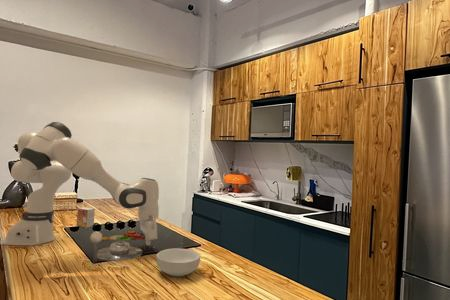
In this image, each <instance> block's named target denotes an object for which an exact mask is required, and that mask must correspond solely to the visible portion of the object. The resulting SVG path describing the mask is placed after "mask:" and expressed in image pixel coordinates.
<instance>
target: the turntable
mask: <svg viewBox="0 0 450 300" xmlns="http://www.w3.org/2000/svg"><path fill="white" fill-rule="evenodd" d="M143 249H144V250H142V249H141V248H139V247H135V246H132V245H130V249H129V253H128V254H126V255H112V254H110V246H107V247H103V248H99V249H97V259H98V260H99V259H100V260H103V261H110V262H111V261H112V262H115V261H116V262H119V261H127V260H128V261H129V260H132V259H136V258H138V257H140V256H142V255H143V253H144V252H143V251H150V250H151V244H150V245H146V239H144V248H143Z"/></svg>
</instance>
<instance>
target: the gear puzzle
mask: <svg viewBox="0 0 450 300" xmlns="http://www.w3.org/2000/svg"><path fill="white" fill-rule="evenodd" d="M158 239H160V237H158V235H157V239H156V240H158ZM129 240H131V241H132V240H135V241H137V240H145V234H144V233H143V232H142V231H141V230H139V231H135V230H129V231H127V232H124V233H123V235H122V234H121V235H120V234H119V235H115V234H114V235H112V236H109V237H107V236H104V237H103V236H102V241H101V242H108V241H129Z"/></svg>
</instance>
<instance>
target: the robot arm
mask: <svg viewBox="0 0 450 300" xmlns="http://www.w3.org/2000/svg"><path fill="white" fill-rule="evenodd" d="M17 149H18V153H19V160H18V161H16V162H15V163H13V165H12V167H11V171H10V174H11V177H12V179H13V180H14V181H16V182H20V183H25V184H29V183H30V184H42V186H41V188H38V189H36V190H33V191H32V192H30V193H29V194H28V197H27V204H26V210H25V211H23V213H22V214H21V216H20V217H21V218H22V219H21V220H19V221H17V222H16V223H15V224H13V225H12V226H11V227H9V228H8V230H7V232H6V236H5V237H3V238H2V239H0V245H3V246H32V247H33V246H37V245H41V244H46V243H49V242H52V241H54V240H56V236H55V232H54V231H55V230H54V220H55V212H54V202H55V196H56V194H57V191H58V189H59V188H61V186H62V185H63V184H65V183H66V182H67V181H69V180H70V178H71V175H72V174H73V175H75V176H77V177H79V178H81V179H83V180H86V181H87V180H88V181H92V182H94V183H96V184H97V185H99V186H100V187H101V188H103V189H104V190H106V192H108V193H109V194H110V195H111V197H112V199H113V201H114V202H115V203H116V204H117V205H118V206H120V207H121V208H124V209H128V210H131V209H136V208H137V209H138V211H137V215H138V216H137V217H138V219H139V229H140V231H142V232H143V233H144V234H145V239H146V245H150V244H151V242H152V241H153V240H158V239H157V236H158V223H157V221H156V219H159V209H160V207H159V200H160V199H159V193H160V192H159V190H160V189H159V183H158V181H157V180H155V179H153V178H148V177H141V178H140V179H139V180H138V181H135V182H134V183H132V184H129V183H125V182H122V181H121V182H120V181H119V180H117V179H116V178H115V177H113V176H112V175H111V174H110V173H108V172H107V170H105V169H104V167H103V165H102V161H101V160H100V159H99V158H98V157H97V156H96V155H95V154H94V153H93V152H92V151H91V150H90V149H88V148H87V147H86V146H84V145H83V144H81V143H80V142H78V141H76V140H74V139H72V131H71V129H70V128H68V126H66V125H65V124H64V123H62V122H60V121H52V122H50V123H47V125H45V126H44V127H43V129H41V130H40V131H38V132H34V131H27V132H25V133H23V134H21V135H20V136H19V137H18V140H17ZM145 239H144V240H145ZM150 246H151V245H150Z"/></svg>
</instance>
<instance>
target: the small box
mask: <svg viewBox="0 0 450 300" xmlns="http://www.w3.org/2000/svg"><path fill="white" fill-rule="evenodd" d="M95 210H96V209H95V208H91V207H86V206H82V207H78V208H77V213H76V226H77V227H81V228H85V229H87V228H92V227H94V226H93V225H95V212H96V211H95Z"/></svg>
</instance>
